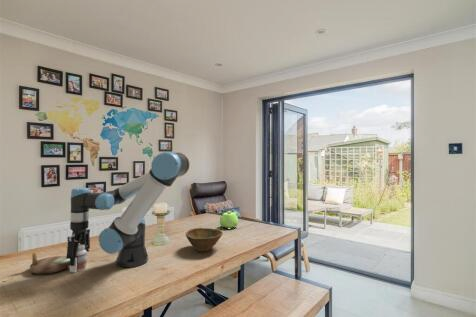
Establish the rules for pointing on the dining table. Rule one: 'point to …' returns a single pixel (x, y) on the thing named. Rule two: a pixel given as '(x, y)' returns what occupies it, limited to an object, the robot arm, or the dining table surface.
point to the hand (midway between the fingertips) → (78, 268)
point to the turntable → (48, 264)
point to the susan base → (52, 272)
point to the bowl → (203, 238)
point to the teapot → (229, 219)
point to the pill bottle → (81, 257)
